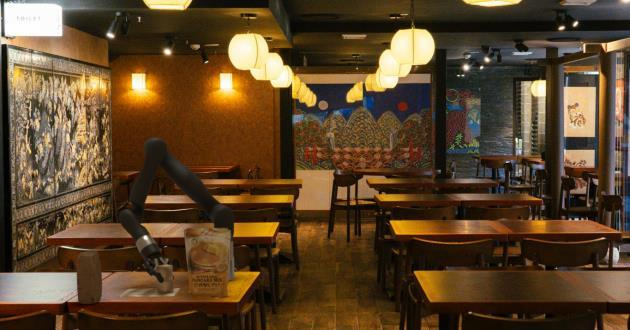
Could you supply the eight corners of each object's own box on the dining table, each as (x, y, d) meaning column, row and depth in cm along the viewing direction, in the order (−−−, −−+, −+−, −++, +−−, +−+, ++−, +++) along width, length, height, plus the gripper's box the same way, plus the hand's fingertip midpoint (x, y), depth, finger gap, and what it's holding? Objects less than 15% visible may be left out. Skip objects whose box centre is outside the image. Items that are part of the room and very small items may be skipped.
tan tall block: (166, 290, 314) (165, 264, 313) (173, 292, 311) (172, 265, 310) (157, 292, 310) (156, 266, 309) (164, 294, 307) (163, 267, 306)
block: (93, 305, 297) (92, 254, 296) (75, 305, 298) (73, 254, 297) (105, 298, 308) (103, 249, 306) (87, 298, 309) (85, 249, 307)
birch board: (180, 291, 318) (180, 288, 318) (174, 299, 304) (173, 296, 304) (128, 292, 318) (128, 288, 318) (119, 300, 304) (119, 296, 304)
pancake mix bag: (187, 294, 313) (185, 226, 311) (233, 294, 312) (231, 226, 310) (183, 298, 307) (181, 229, 305) (230, 298, 305) (228, 229, 303)
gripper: (137, 245, 309) (157, 278, 302) (165, 240, 319) (185, 272, 312) (130, 256, 312) (149, 289, 305) (158, 251, 323) (177, 283, 316)
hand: (167, 280), depth 309 cm, fingers closed on tan tall block, 4 cm apart
